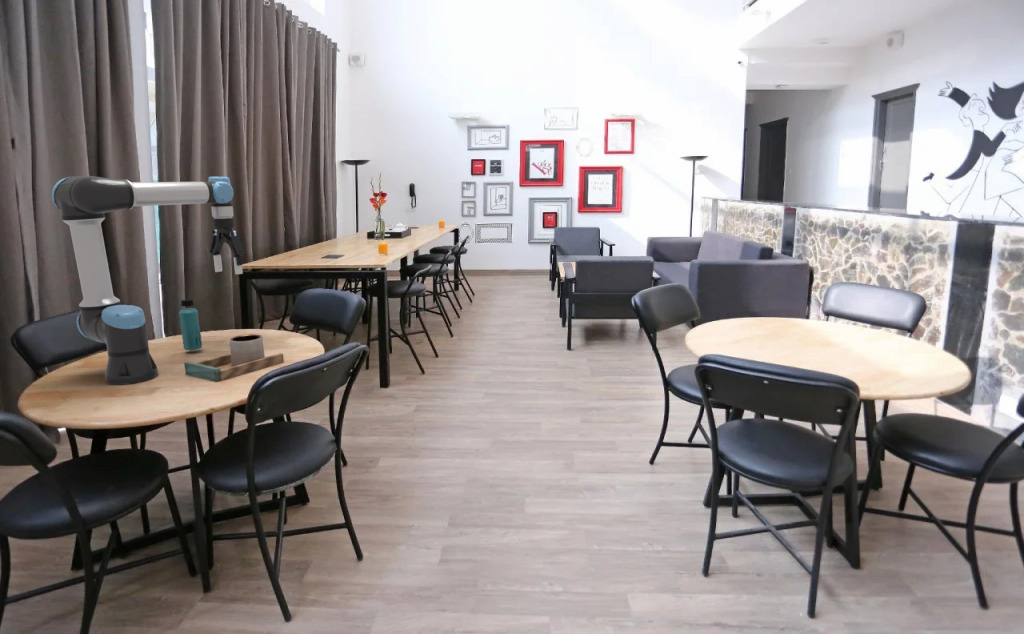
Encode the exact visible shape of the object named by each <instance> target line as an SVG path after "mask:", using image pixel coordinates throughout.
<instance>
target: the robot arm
mask: <svg viewBox="0 0 1024 634" xmlns="http://www.w3.org/2000/svg"><path fill="white" fill-rule="evenodd" d="M234 194H235V193H234V189H233V187H232V185H231V179H230V178H229V176H208V180H207V181H166V182H165V181H143V182H142V181H140V182H139V181H138V182H137V181H136V182H135V181H134V182H133V181H130V180H129V179H126V178H110V177H101V176H94V175H91V176H89V175H88V176H85V175H84V176H76V175H74V176H68V177H64V178H61V179H60V180H58V181H57V182H56V183H55V185H54V186H53V187H52V191H51V202H52V203H53V204H54V206H55V207H56V208H57V209H58V210H59V211H60V214H61V220H62V222H63V223H65V224H66V225H68V226H69V231H70V235H71V240H72V241H71V242H72V246H73V252H74V256H75V261H76V267H77V272H78V276H79V277H78V278H79V282H80V288H81V289H80V290H81V294H82V300H81V302H80V303H79V304H78V307H79V314H78V315H77V317H76V327H77V329H78V331H79V333H80V334H81V335H82V336H83V337H85V339H86V338H87V339H88V340H90V341H93V342H96V343H103V344H105V345H106V350H107V351H106V352H107V363H106V367H105V373H104V381H105V383H106V384H110V385H128V384H136V383H141V382H146V381H148V380H152V379H154V378H155V377H157V376H158V375H159V368H158V366H157V363H156V362H155V360H154V358H153V357H152V354H151V353H150V348H149V346H150V345H149V339H148V333H147V324H146V316H145V314H144V310H143V309H142V307H140V306H136V305H132V304H129V305H127V304H121V300H120V298H118V297H116V296H115V295H114V290H113V284H112V279H111V274H110V268H109V267H110V266H109V262H108V256H107V253H106V252H107V251H106V246H105V240H104V235H103V228H102V222H103V221H104V220H105V219H106V215H105V213H110V212H112V213H113V212H117V211H129V210H132V209H133V208H134V207H147V206H148V207H150V206H173V205H175V206H176V205H178V206H179V205H195V204H199V205H200V204H201V205H202V204H210V206H211V217H213V218H212V224H213V225H212V226H213V229H212V230H211V240H210V244H209V251H208V252H209V254H211V255H212V256H213V265H214V272H215V273H219V272H223V261H222V254H221V251H222V248H223V246H224V244H225V243H226V244H227V245H228V247H229V248H230V250H231V252H232V254H233V264H234V266H233V267H234V275H243V274H244V273H243V259H242V257H243V256H245V255H246V252H245V250H244V247H243V244H242V242H241V239H240V237H239V232H238V230H233V228H235V227H236V226H235V225H236V224H235V219H234V218H233V217H234V208H233V197H234Z"/></svg>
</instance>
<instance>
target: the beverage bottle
mask: <svg viewBox="0 0 1024 634" xmlns="http://www.w3.org/2000/svg"><path fill="white" fill-rule="evenodd" d="M180 303H181V304H180V305H181V307H184V308H182V309H181V310H180V311H179V312H178V314H179V320H180V327H181V328H180V329H181V330H180V331H181V332H180V333H181V339H182V344H183V346H182V347H183V349H184V350H185V351H196V350H200V349H202V348H203V341H202V339H203V338H202V335H201V334H202V333H201V328H200V327H201V325H200V319H199V313H198V312H199V311H198V309H196V308H194V307H192V306H194V305H195V304H194V300H193V299H191V298H190V299H183V300H181V301H180Z"/></svg>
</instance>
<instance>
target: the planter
mask: <svg viewBox="0 0 1024 634" xmlns="http://www.w3.org/2000/svg"><path fill="white" fill-rule="evenodd" d="M263 338H264V337H263V335H261V334H253V333H250V334H242V335H236V336H233V337H230V338H229V339H228V340H229V349H230V354H231V363H230V364H231V367H233V366H237V365H240V364H244V363H247V362H251V361H254V360H258V359H261V358H265V357H266V356H265V349H264V339H263Z"/></svg>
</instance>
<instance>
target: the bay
mask: <svg viewBox="0 0 1024 634" xmlns="http://www.w3.org/2000/svg"><path fill="white" fill-rule="evenodd" d="M284 360H285V359H284V353H281V352H280V353H276V354H272V355H269V356H265V358H261V359H258V360H254V361H251V362H247V363H244V364H240V365H237V366H230V367H227V368H223V369H221V368H220V367H221V366H224V365H229V364H232V363H231V353H227V354H223V355H220V356H215V357H213V358H209V359H204V360H200V361H197V362H192V361H185V362H184V363H183V365H184V371H185V375H187V376H191V377H196V378H200V379H204V380H209V381H213V382H217V383H218V382H222V381H225V380H228V379H230V378H235V377H238V376H241V375H244V374H249V373H251V372H252V373H253V372H255V371H258V370H261V369H264V368H268V367H271V366H274V365H278V364H282V363H284Z"/></svg>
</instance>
